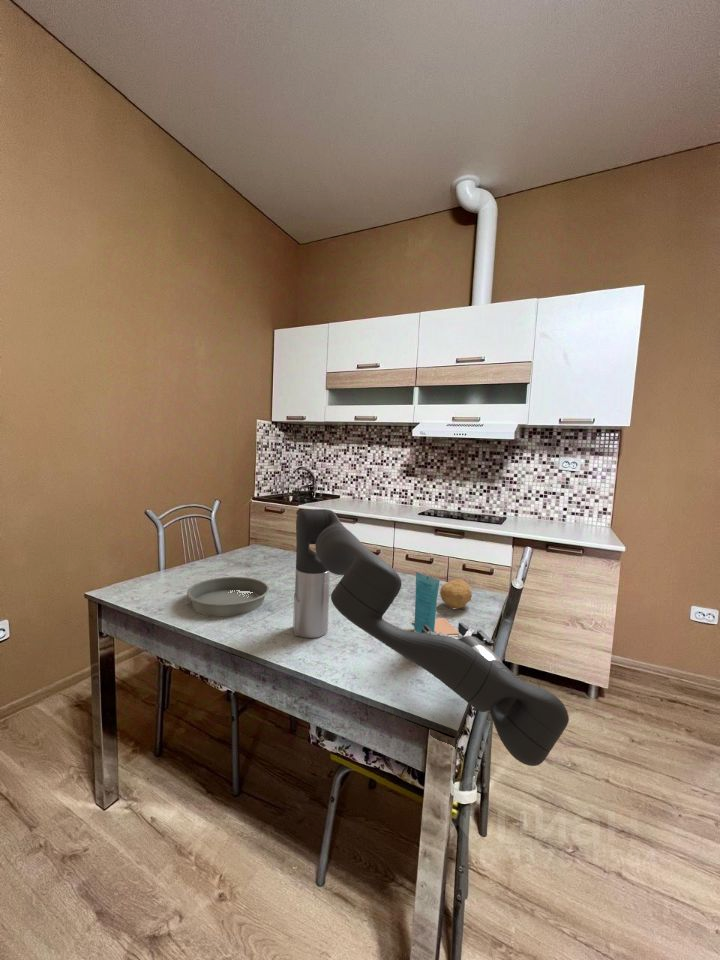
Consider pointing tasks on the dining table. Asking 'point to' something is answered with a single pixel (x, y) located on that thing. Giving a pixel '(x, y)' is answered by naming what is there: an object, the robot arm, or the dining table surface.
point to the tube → (425, 601)
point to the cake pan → (227, 595)
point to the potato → (456, 593)
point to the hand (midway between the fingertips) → (442, 627)
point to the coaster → (444, 627)
